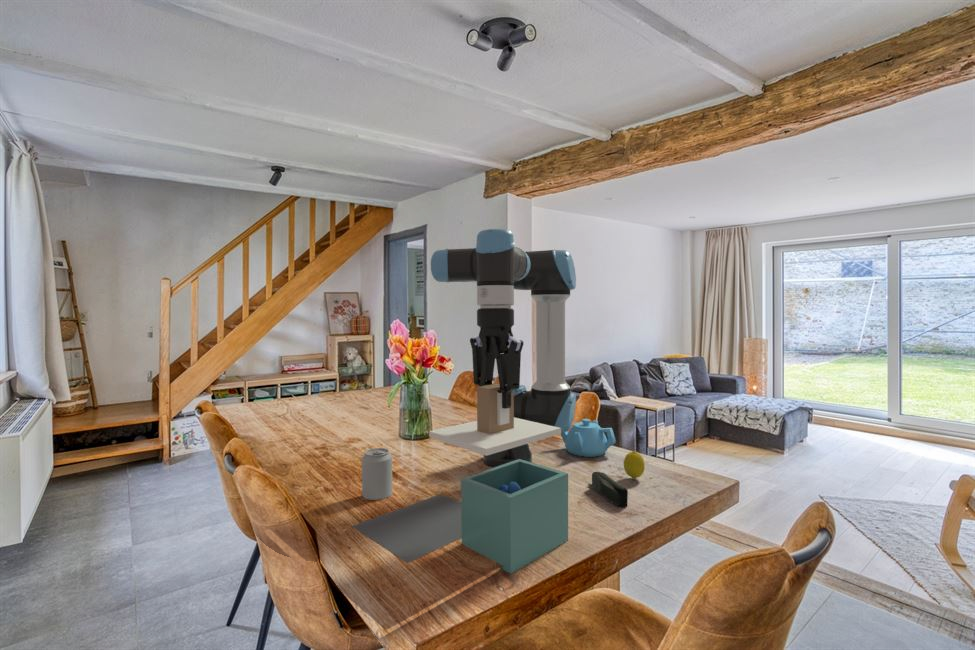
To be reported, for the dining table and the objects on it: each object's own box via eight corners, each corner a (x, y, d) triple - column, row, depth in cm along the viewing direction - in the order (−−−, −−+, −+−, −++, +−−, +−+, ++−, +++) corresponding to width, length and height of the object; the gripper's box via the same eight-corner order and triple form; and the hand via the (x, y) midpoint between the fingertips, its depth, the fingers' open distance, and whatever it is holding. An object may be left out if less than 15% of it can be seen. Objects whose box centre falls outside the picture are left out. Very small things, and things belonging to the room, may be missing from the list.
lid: (429, 437, 97) (428, 387, 97) (502, 419, 111) (502, 376, 111) (486, 455, 85) (486, 398, 84) (561, 433, 99) (560, 384, 99)
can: (366, 505, 117) (365, 457, 116) (359, 495, 124) (358, 448, 123) (396, 499, 120) (395, 452, 120) (387, 489, 127) (387, 444, 126)
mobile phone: (630, 487, 115) (595, 466, 129) (619, 489, 114) (585, 468, 128) (629, 508, 115) (595, 484, 129) (619, 509, 114) (585, 486, 128)
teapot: (573, 461, 149) (573, 426, 149) (555, 447, 164) (555, 416, 164) (618, 457, 153) (618, 423, 153) (596, 444, 168) (596, 413, 167)
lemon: (645, 483, 130) (645, 454, 130) (624, 482, 131) (624, 453, 131) (643, 476, 135) (643, 448, 135) (622, 475, 137) (623, 447, 136)
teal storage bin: (461, 547, 96) (461, 478, 96) (519, 520, 108) (519, 458, 108) (510, 573, 87) (510, 497, 86) (568, 540, 99) (568, 473, 98)
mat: (351, 529, 104) (351, 526, 104) (441, 497, 122) (441, 493, 122) (407, 566, 89) (407, 562, 89) (500, 523, 107) (500, 519, 107)
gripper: (455, 307, 101) (456, 418, 101) (511, 307, 88) (512, 433, 89) (481, 307, 106) (482, 412, 107) (538, 307, 94) (539, 426, 94)
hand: (496, 421), depth 98 cm, fingers closed on lid, 3 cm apart
